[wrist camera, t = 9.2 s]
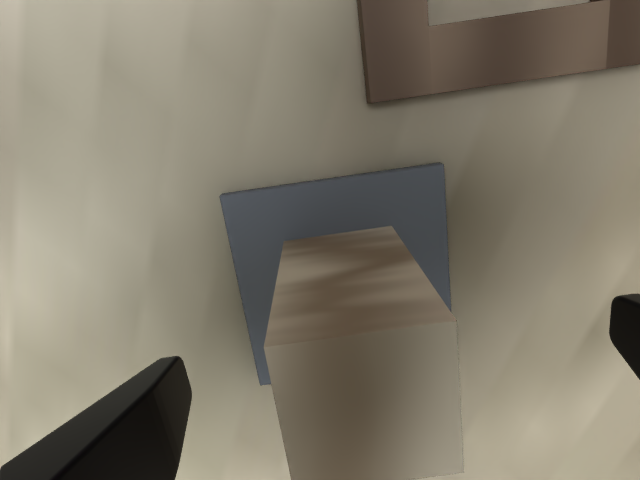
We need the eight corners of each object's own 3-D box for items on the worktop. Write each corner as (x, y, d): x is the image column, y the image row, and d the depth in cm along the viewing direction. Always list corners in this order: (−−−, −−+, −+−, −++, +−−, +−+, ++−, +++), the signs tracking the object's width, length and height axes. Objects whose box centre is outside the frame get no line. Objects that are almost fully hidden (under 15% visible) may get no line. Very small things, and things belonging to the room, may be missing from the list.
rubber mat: (439, 162, 19) (443, 164, 19) (449, 353, 22) (453, 359, 22) (222, 193, 19) (219, 196, 19) (261, 378, 22) (260, 385, 22)
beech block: (391, 225, 19) (456, 320, 11) (400, 322, 21) (464, 472, 12) (283, 241, 20) (263, 347, 11) (300, 336, 21) (294, 494, 12)
